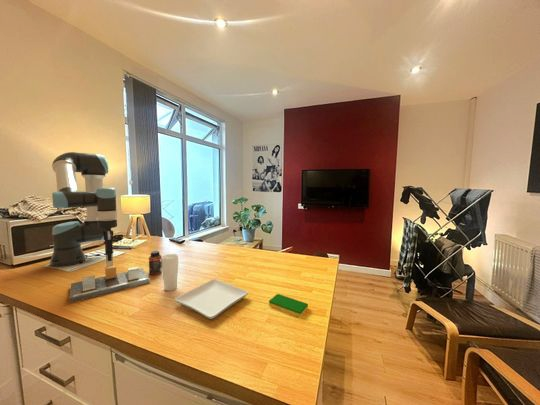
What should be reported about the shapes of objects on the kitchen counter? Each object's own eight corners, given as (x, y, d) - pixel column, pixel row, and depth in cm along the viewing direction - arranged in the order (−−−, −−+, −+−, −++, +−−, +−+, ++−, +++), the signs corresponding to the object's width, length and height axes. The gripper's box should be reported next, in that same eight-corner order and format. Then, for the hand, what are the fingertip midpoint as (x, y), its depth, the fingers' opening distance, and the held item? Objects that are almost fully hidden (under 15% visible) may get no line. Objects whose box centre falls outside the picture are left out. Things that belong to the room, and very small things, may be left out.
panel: (71, 287, 96) (70, 272, 95) (143, 272, 114) (142, 258, 113) (69, 303, 84) (68, 285, 83) (149, 282, 102) (149, 267, 101)
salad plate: (211, 326, 72) (211, 316, 72) (173, 306, 83) (173, 298, 83) (249, 298, 90) (249, 291, 90) (214, 285, 101) (214, 278, 101)
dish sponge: (277, 298, 90) (277, 293, 90) (308, 309, 83) (308, 303, 83) (268, 306, 84) (268, 300, 84) (300, 319, 77) (300, 312, 77)
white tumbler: (182, 286, 99) (181, 254, 98) (170, 293, 92) (170, 259, 91) (170, 284, 101) (169, 253, 100) (158, 290, 95) (157, 257, 93)
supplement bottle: (164, 271, 115) (164, 251, 114) (154, 275, 109) (153, 254, 109) (156, 269, 117) (156, 249, 116) (146, 273, 112) (146, 252, 111)
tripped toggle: (105, 277, 101) (105, 267, 101) (115, 275, 104) (115, 265, 103) (105, 279, 99) (105, 269, 99) (116, 277, 102) (115, 267, 102)
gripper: (97, 218, 106) (99, 264, 108) (98, 222, 97) (100, 272, 98) (115, 217, 111) (117, 261, 113) (118, 220, 101) (120, 268, 103)
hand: (109, 266), depth 106 cm, fingers closed
